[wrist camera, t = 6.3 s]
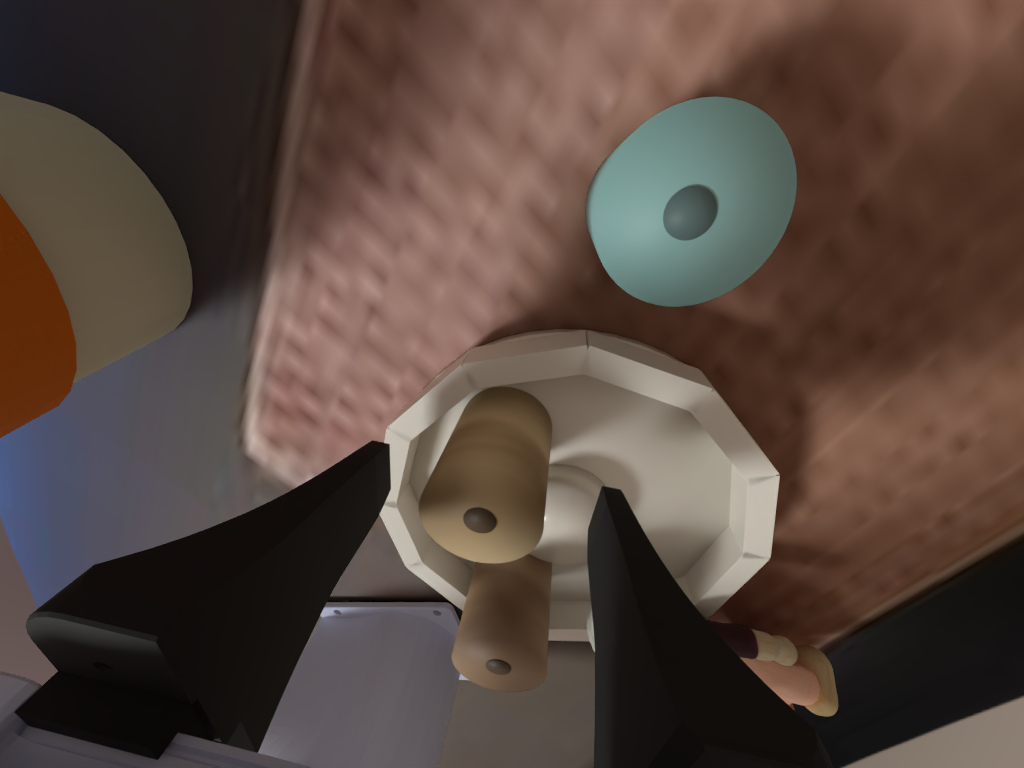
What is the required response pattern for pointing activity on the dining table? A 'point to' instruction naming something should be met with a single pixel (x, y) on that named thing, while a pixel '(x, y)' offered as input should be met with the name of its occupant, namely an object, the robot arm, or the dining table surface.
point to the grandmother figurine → (777, 665)
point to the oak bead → (491, 479)
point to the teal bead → (692, 201)
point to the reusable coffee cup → (77, 258)
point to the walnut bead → (506, 625)
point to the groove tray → (600, 466)
